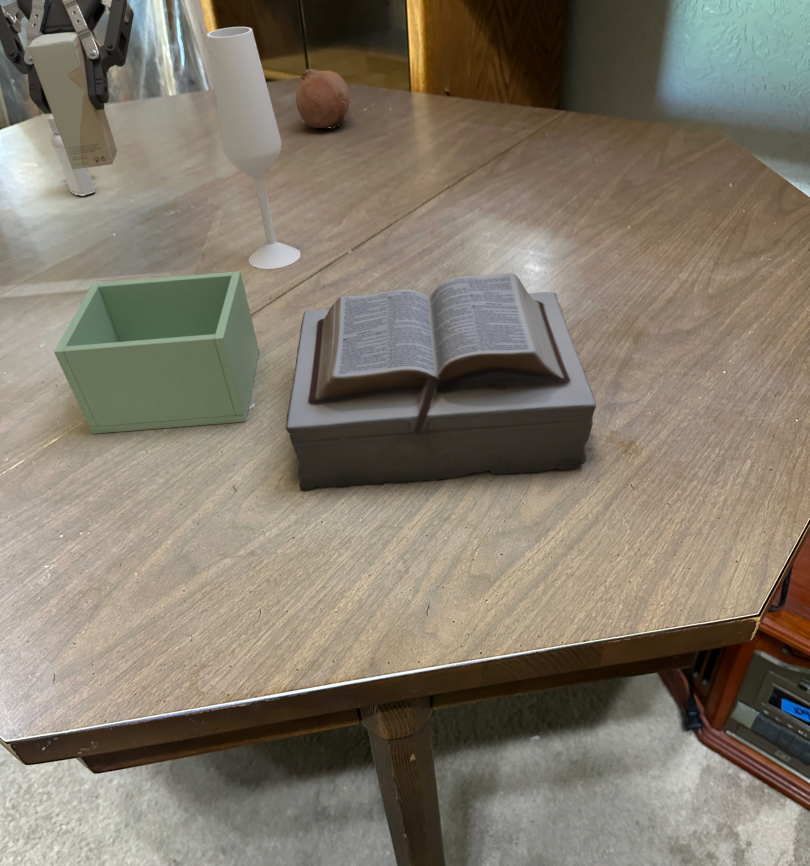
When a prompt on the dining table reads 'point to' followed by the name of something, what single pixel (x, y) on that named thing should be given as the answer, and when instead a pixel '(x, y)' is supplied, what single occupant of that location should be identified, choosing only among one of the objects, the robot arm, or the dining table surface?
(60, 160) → the eye dropper bottle
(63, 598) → the dining table surface
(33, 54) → the box
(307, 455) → the bible
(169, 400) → the storage bin
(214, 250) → the dining table surface
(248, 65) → the champagne flute
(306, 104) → the pomegranate
